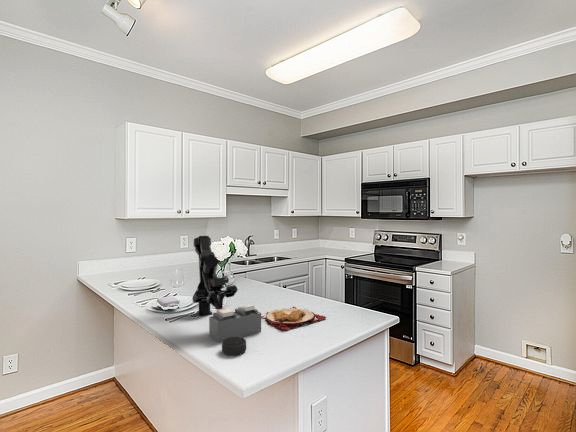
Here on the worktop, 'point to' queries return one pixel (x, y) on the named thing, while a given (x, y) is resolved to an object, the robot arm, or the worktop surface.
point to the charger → (168, 301)
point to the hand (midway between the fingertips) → (221, 311)
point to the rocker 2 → (246, 308)
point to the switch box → (234, 324)
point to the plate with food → (290, 317)
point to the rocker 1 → (224, 312)
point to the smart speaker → (234, 346)
